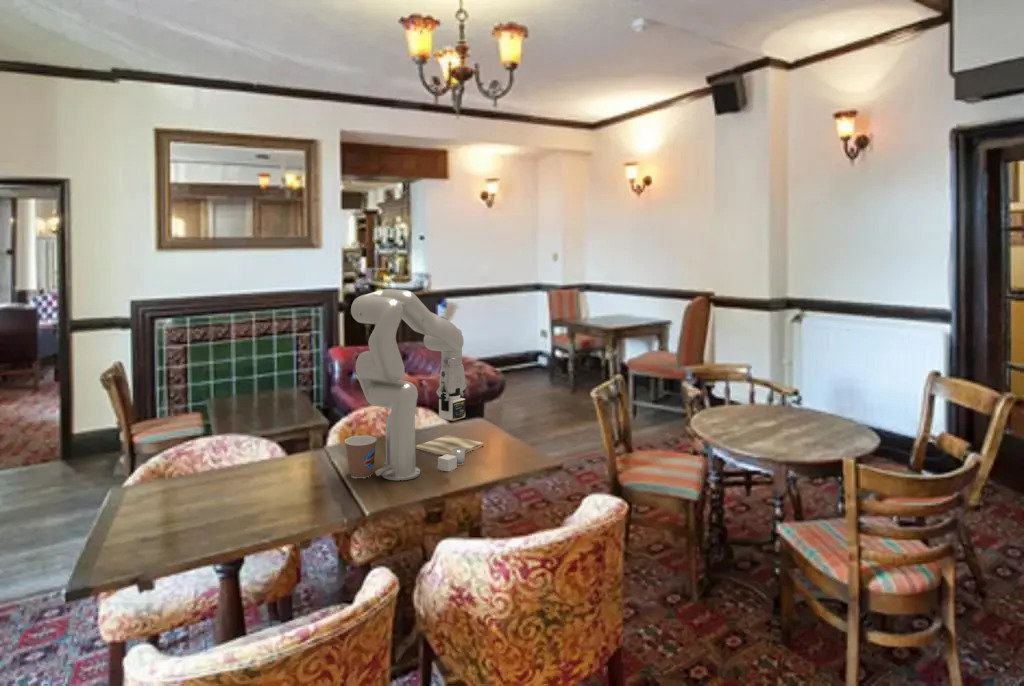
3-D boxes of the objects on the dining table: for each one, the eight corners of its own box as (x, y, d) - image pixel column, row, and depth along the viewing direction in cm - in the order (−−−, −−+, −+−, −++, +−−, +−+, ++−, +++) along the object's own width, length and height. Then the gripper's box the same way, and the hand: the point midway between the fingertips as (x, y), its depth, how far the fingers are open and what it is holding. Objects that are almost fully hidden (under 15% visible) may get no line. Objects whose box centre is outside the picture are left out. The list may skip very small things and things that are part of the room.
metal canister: (459, 466, 219) (459, 452, 219) (449, 464, 222) (449, 450, 221) (467, 463, 223) (467, 449, 222) (457, 460, 226) (457, 447, 225)
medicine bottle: (452, 421, 233) (452, 388, 231) (438, 417, 237) (438, 386, 236) (465, 417, 239) (465, 385, 237) (451, 414, 243) (451, 383, 241)
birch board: (452, 458, 228) (452, 454, 228) (415, 449, 238) (415, 445, 238) (483, 446, 242) (483, 442, 242) (447, 438, 253) (447, 434, 252)
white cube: (448, 472, 213) (448, 459, 213) (438, 470, 216) (438, 457, 215) (456, 469, 217) (456, 456, 216) (446, 466, 219) (446, 454, 219)
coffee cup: (369, 481, 204) (369, 445, 202) (339, 479, 206) (338, 443, 204) (382, 471, 214) (381, 436, 212) (353, 468, 216) (353, 434, 214)
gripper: (444, 366, 226) (444, 415, 228) (474, 359, 240) (474, 405, 243) (428, 364, 230) (428, 411, 233) (458, 357, 244) (459, 402, 247)
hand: (452, 408), depth 238 cm, fingers closed on medicine bottle, 7 cm apart
